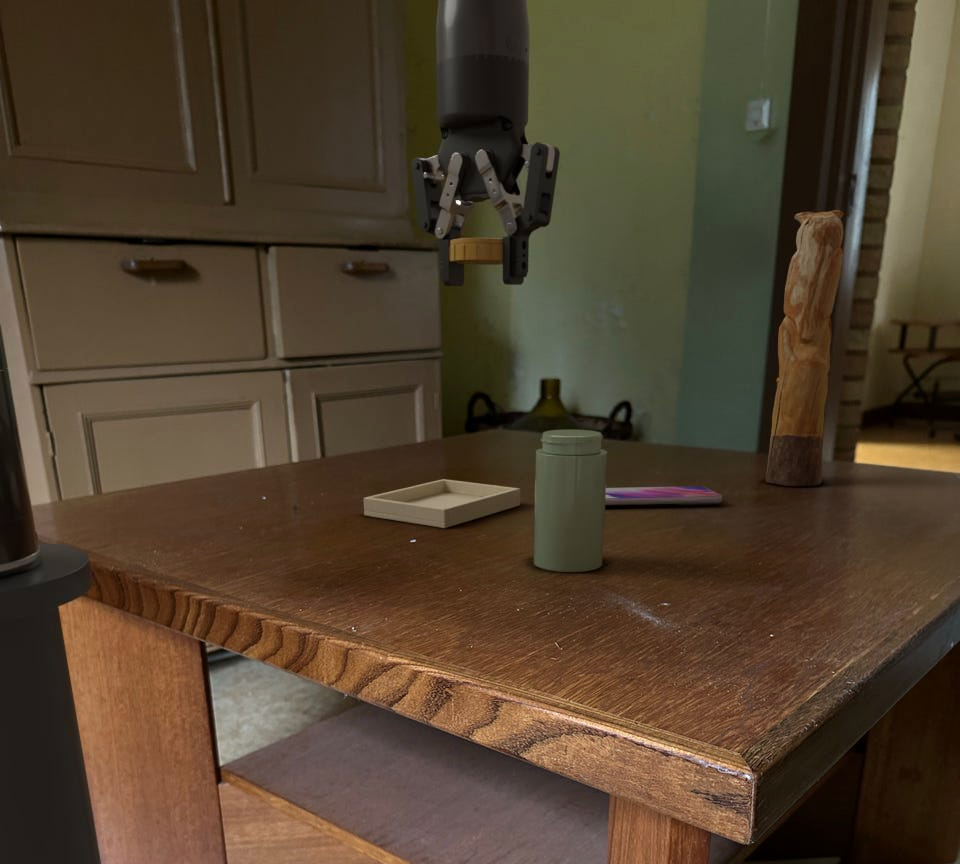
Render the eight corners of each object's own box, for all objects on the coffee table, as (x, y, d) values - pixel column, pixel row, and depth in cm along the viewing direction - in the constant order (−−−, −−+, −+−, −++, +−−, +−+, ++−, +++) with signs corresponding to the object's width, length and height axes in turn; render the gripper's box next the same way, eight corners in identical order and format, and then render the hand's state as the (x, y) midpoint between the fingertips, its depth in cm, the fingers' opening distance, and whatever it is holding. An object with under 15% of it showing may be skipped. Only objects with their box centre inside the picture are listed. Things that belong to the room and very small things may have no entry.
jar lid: (437, 260, 77) (437, 238, 77) (467, 265, 82) (467, 244, 82) (501, 259, 75) (502, 236, 75) (527, 264, 80) (528, 243, 80)
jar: (581, 576, 70) (586, 439, 67) (520, 565, 73) (522, 434, 70) (614, 560, 75) (621, 431, 71) (555, 551, 78) (559, 427, 74)
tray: (444, 528, 86) (444, 509, 85) (364, 515, 92) (363, 497, 91) (520, 505, 96) (520, 488, 96) (443, 495, 102) (443, 479, 101)
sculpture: (813, 474, 114) (845, 211, 104) (828, 488, 105) (864, 201, 95) (759, 473, 115) (785, 212, 105) (768, 486, 106) (798, 203, 96)
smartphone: (570, 488, 101) (702, 485, 102) (570, 496, 101) (702, 493, 102) (582, 499, 94) (724, 496, 95) (582, 507, 94) (724, 504, 95)
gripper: (583, 58, 73) (575, 285, 78) (441, 83, 81) (444, 287, 86) (531, 36, 67) (527, 282, 73) (385, 66, 75) (391, 286, 81)
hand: (482, 284), depth 79 cm, fingers closed on jar lid, 6 cm apart
